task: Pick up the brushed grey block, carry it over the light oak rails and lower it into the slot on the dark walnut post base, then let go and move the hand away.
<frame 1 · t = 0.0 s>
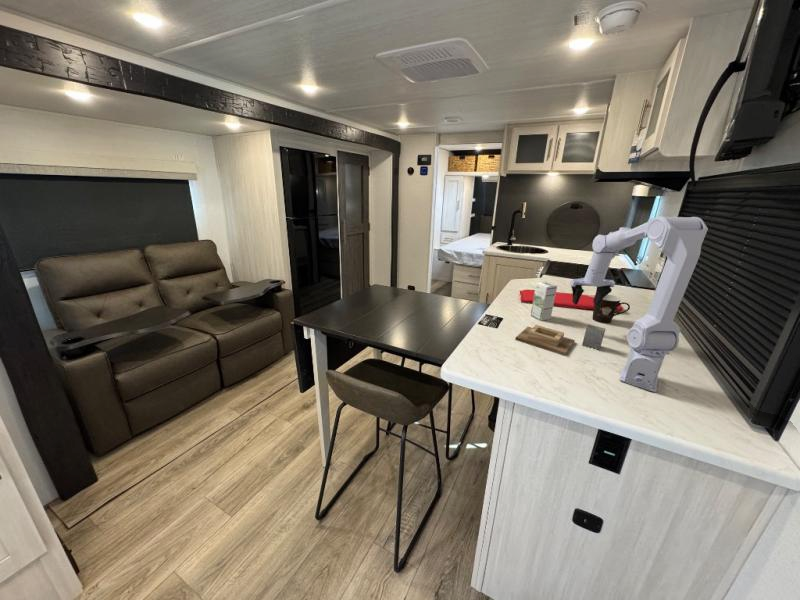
hand: (585, 303, 112), 11 cm above the worktop, tool pointing down, fingers open, 7 cm apart
coffee mug: (605, 322, 124), on the worktop
slot block: (544, 341, 106), on the worktop
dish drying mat: (565, 303, 144), on the worktop
syrup box: (540, 317, 126), on the worktop
brushed grey block: (591, 346, 104), on the worktop
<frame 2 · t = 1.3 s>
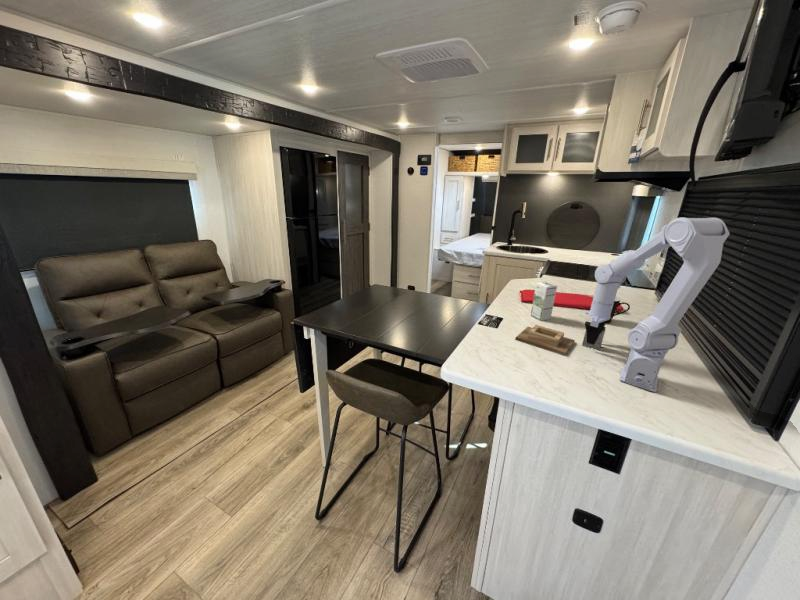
hand: (592, 339, 103), 3 cm above the worktop, tool pointing down, fingers open, 7 cm apart
nothing on the worktop moved.
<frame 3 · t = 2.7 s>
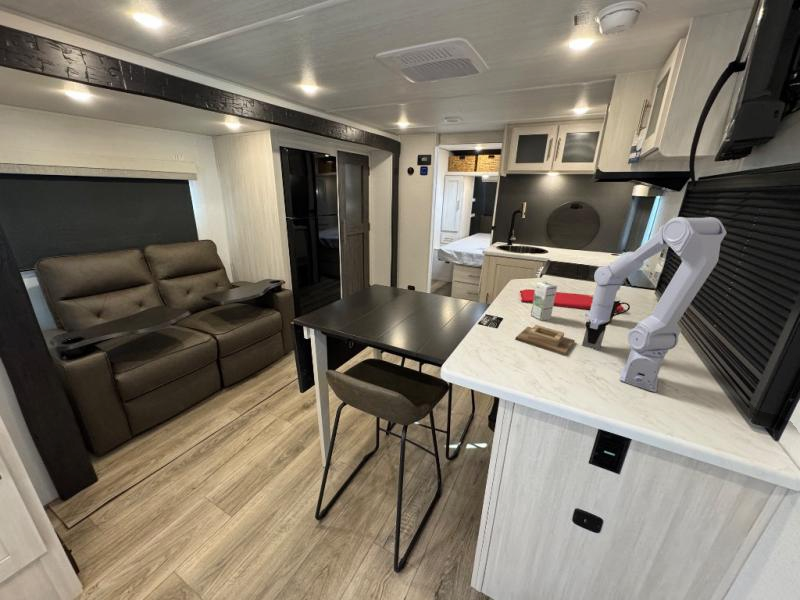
hand: (592, 341, 103), 2 cm above the worktop, tool pointing down, fingers closed on brushed grey block, 3 cm apart
brushed grey block: (591, 346, 104), on the worktop, touching gripper
everything else where it was.
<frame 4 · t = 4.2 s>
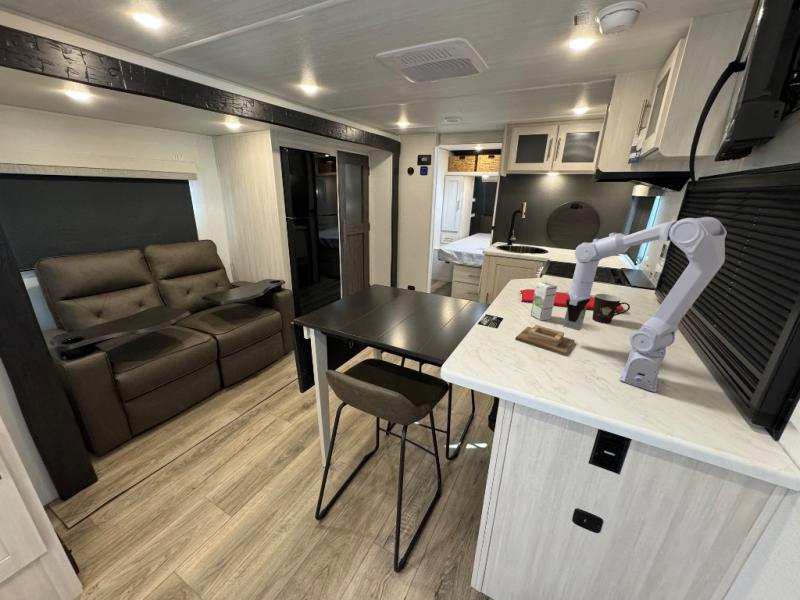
hand: (573, 319, 102), 9 cm above the worktop, tool pointing down, fingers closed on brushed grey block, 3 cm apart
brushed grey block: (572, 327, 103), point 6 cm above the worktop, touching gripper
everything else where it was.
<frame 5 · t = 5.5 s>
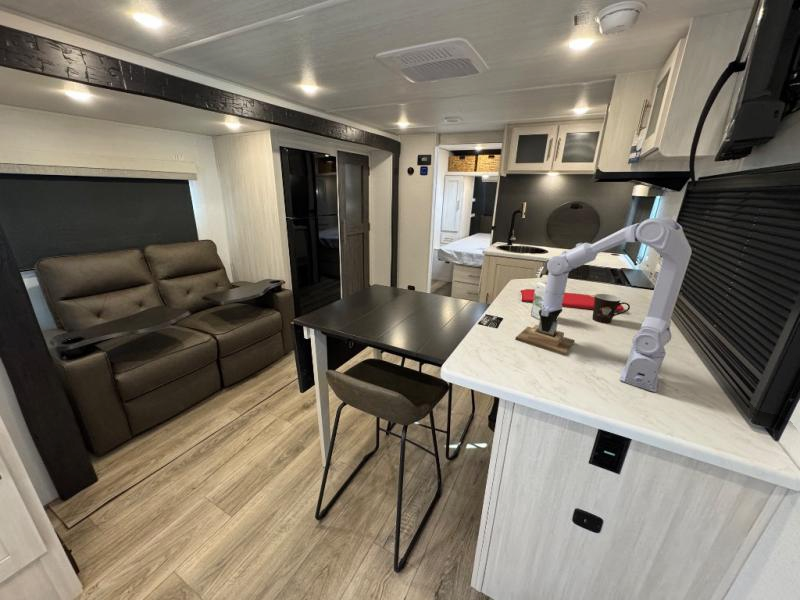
hand: (546, 329, 105), 5 cm above the worktop, tool pointing down, fingers closed on brushed grey block, 3 cm apart
brushed grey block: (545, 337, 106), point 1 cm above the worktop, touching gripper
everything else where it was.
when the fingers open (4 cm above the worktop, at t = 6.2 s): brushed grey block stays where it is, resting on slot block.
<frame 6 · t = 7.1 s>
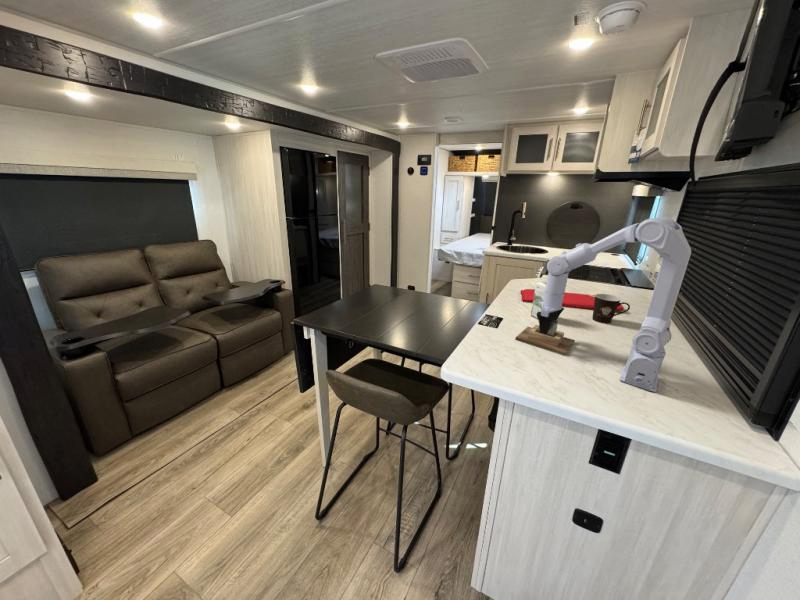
hand: (546, 329, 105), 4 cm above the worktop, tool pointing down, fingers open, 7 cm apart
brushed grey block: (545, 338, 106), point 1 cm above the worktop, touching slot block
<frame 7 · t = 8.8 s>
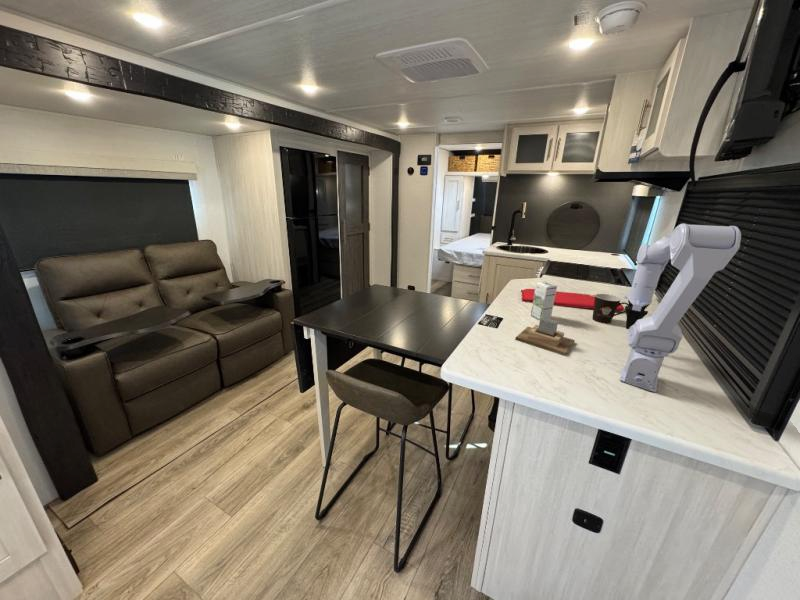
hand: (631, 325, 97), 9 cm above the worktop, tool pointing down, fingers open, 7 cm apart
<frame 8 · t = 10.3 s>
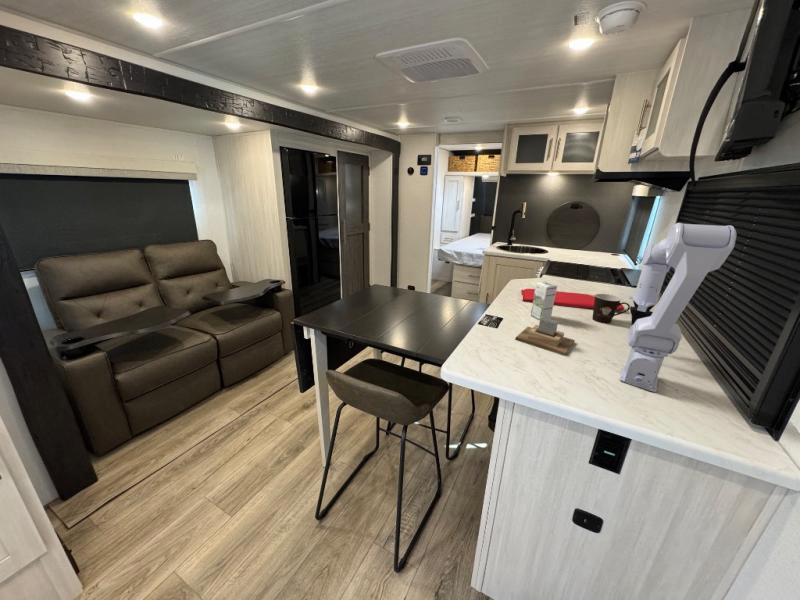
hand: (636, 326, 97), 9 cm above the worktop, tool pointing down, fingers open, 7 cm apart
at the end: brushed grey block 0.1 cm off-centre on the slot block, point 1.0 cm above the slot block's base; brushed grey block tilted 0°; the gripper is holding nothing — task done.
